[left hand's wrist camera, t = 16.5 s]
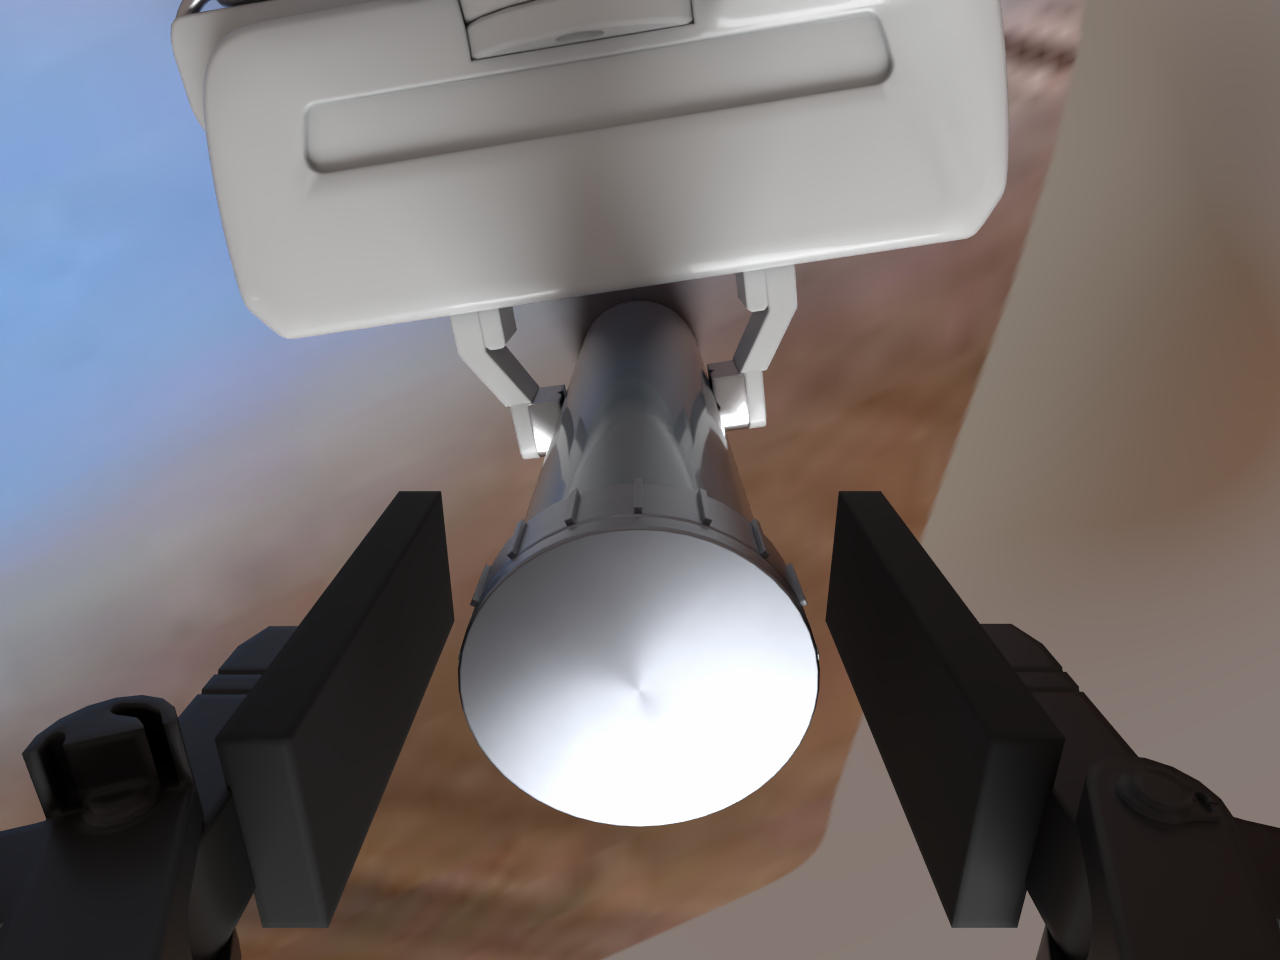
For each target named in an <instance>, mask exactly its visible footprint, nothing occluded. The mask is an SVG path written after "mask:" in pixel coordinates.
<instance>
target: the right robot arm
mask: <svg viewBox="0 0 1280 960" xmlns="http://www.w3.org/2000/svg"><path fill="white" fill-rule="evenodd" d="M209 1H210V0H182V2H181V4H180V6H179V9H178V11H177V15H176V18H175V20H174V21H173V23H172V25H171V43H172V48H173V54H174V57H175V60H176V63H177V66H178V69H179V72H180V75H181V78H182V81H183V84H184V87H185V90H186V94H187V97H188V100H189V103H190V106H191V108H192V111H193V113H194V115H195V117H196V119H197V120H198V122H199V124H200V125H201V126H202V128H203V129H204V131H205V132H206V138H207V145H208V152H209V158H210V164H211V170H212V176H213V182H214V188H215V193H216V198H217V203H218V208H219V213H220V217H221V222H222V227H223V231H224V235H225V239H226V244H227V248H228V252H229V256H230V260H231V263H232V267H233V271H234V275H235V278H236V282H237V285H238V288H239V291H240V294H241V297H242V299H243V301H244V303H245V305H246V307H247V308H248V310H249V311H250V312H251V313H253V314H254V315H255V316H256V317H257V318H259V319H260V320H261V321H262V322H263V323H265V324H266V325H267V326H268V327H269V328H271V329H272V330H273V331H274V332H276V333H277V334H278V335H280V336H281V337H284V338H287V339H295V338H303V337H310V336H316V335H323V334H330V333H336V332H343V331H350V330H357V329H363V328H370V327H377V326H383V325H390V324H397V323H404V322H410V321H417V320H424V319H430V318H437V317H444V316H449V317H450V321H451V325H452V330H453V334H454V338H455V342H456V346H457V351H458V355H459V357H460V358H461V359H462V360H463V361H464V362H465V363H466V364H467V365H468V366H469V367H470V368H471V370H472V371H473V372H474V373H475V374H476V375H477V376H478V377H479V378H480V379H481V380H482V381H483V383H484V384H485V385H486V386H487V387H488V388H489V389H490V390H491V391H492V392H493V393H494V395H495V396H496V397H497V398H498V399H499V400H500V401H501V402H502V403H503V404H504V405H505V406H506V407H509V406H510V408H511V413H512V417H513V422H514V426H515V431H516V435H517V440H518V445H519V449H520V453H521V455H522V457H523V459H531V458H540V457H543V456H546V453H547V450H548V447H549V444H550V441H551V438H552V435H553V432H554V429H555V426H556V422H557V419H558V416H559V413H560V410H561V407H562V404H563V401H564V398H565V395H566V388H565V385H558V386H549V387H541V388H539V386H538V385H537V383H536V382H535V381H534V380H533V378H532V377H531V376H530V375H529V374H528V372H527V371H526V370H525V369H524V367H523V366H522V365H521V364H520V363H519V361H518V360H517V359H516V358H515V357H514V355H513V354H512V353H511V352H510V350H509V349H508V348H507V347H506V346H505V345H506V343H507V342H508V341H509V339H510V338H511V337H512V335H513V334H514V333H515V331H516V330H517V328H516V323H515V318H514V313H513V308H512V306H518V305H524V304H531V303H538V302H544V301H551V300H558V299H565V298H571V297H578V296H585V295H591V294H598V293H605V292H612V291H618V290H625V289H632V288H638V287H645V286H652V285H659V284H665V283H672V282H679V281H685V280H692V279H699V278H706V277H712V276H719V275H726V274H732V273H736V282H737V290H738V297H739V299H740V300H741V301H742V303H743V304H744V305H745V307H746V308H747V309H748V310H750V311H751V312H752V315H751V317H750V319H749V322H748V324H747V326H746V329H745V331H744V333H743V336H742V338H741V340H740V343H739V345H738V347H737V350H736V352H735V354H734V357H733V360H730V361H724V362H718V363H712V364H707V369H708V378H709V382H710V385H711V388H712V391H713V395H714V398H715V401H716V404H717V407H718V410H719V413H720V416H721V419H722V422H723V425H724V428H725V431H734V430H741V429H749V428H756V427H763V426H766V407H765V396H764V385H763V373H762V371H763V370H767V368H768V366H769V364H770V362H771V360H772V358H773V356H774V354H775V352H776V350H777V348H778V345H779V343H780V341H781V339H782V337H783V335H784V333H785V331H786V329H787V327H788V325H789V323H790V321H791V319H792V317H793V315H794V313H795V311H796V308H797V293H796V277H795V264H800V263H806V262H813V261H820V260H826V259H833V258H840V257H847V256H853V255H860V254H867V253H873V252H880V251H887V250H894V249H900V248H907V247H914V246H920V245H927V244H934V243H940V242H947V241H953V240H960V239H966V238H969V237H971V236H973V235H974V234H976V233H977V231H978V230H979V229H980V228H981V226H982V225H983V224H984V223H985V221H986V220H987V218H988V217H989V215H990V214H991V212H992V211H993V209H994V208H995V206H996V205H997V203H998V202H999V200H1000V199H1001V197H1002V195H1003V193H1004V190H1005V187H1006V182H1007V173H1008V156H1009V107H1008V82H1007V66H1006V51H1005V40H1004V30H1003V20H1002V11H1001V2H1000V0H217V1H218V2H219V3H220V4H221V5H222V6H224V7H227V8H221V9H216V10H210V11H204V12H200V11H201V9H202V8H203V7H204V6H205V5H206V4H207V3H208V2H209Z"/></svg>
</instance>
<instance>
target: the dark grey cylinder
mask: <svg viewBox="0 0 1280 960" xmlns="http://www.w3.org/2000/svg"><path fill="white" fill-rule="evenodd" d="M635 478H642V483H648V484H662V485H668V486H673V487H679V488H684V489H687V490H690V491H694V492H697V493H698V491H699V489H700V488H701V489H704V490H706V492H707V496H708V497H710V498H712V499H715V500H717V501H719V502H721V503H723V504H725V505H727V506H728V507H730V508H732V509H733V510H735V511H736V512H738V513H740V514H741V515H743V516H744V517H745V518H746V519H748V520H749V521H750V522H751V521H752V520H753V519H754V518H753V515H752V512H751V508H750V505H749V502H748V499H747V496H746V493H745V490H744V487H743V484H742V481H741V478H740V475H739V471H738V468H737V465H736V462H735V459H734V456H733V453H732V450H731V447H730V444H729V441H728V438H727V435H726V431H725V428H724V425H723V422H722V419H721V416H720V413H719V410H718V407H717V404H716V401H715V398H714V395H713V391H712V388H711V385H710V382H709V379H708V376H707V373H706V370H705V367H704V364H703V361H702V358H701V355H700V351H699V348H698V345H697V342H696V340H695V337H694V334H693V333H692V331H691V329H690V327H689V326H688V325H687V323H686V322H685V321H684V320H683V319H682V318H681V317H680V316H679V315H678V314H677V313H676V312H674V311H673V310H671V309H669V308H668V307H666V306H664V305H661V304H658V303H655V302H651V301H629V302H625V303H621V304H618V305H616V306H614V307H612V308H610V309H608V310H607V311H605V312H604V313H603V314H601V315H600V316H599V317H598V318H597V319H596V320H595V321H594V323H593V324H592V325H591V327H590V328H589V330H588V332H587V334H586V336H585V338H584V341H583V344H582V347H581V350H580V353H579V356H578V359H577V362H576V365H575V368H574V371H573V374H572V377H571V380H570V383H569V386H568V389H567V392H566V395H565V398H564V401H563V404H562V407H561V410H560V413H559V416H558V419H557V422H556V426H555V429H554V432H553V435H552V438H551V441H550V444H549V447H548V450H547V453H546V456H545V459H544V462H543V465H542V468H541V471H540V474H539V477H538V480H537V483H536V486H535V489H534V492H533V495H532V498H531V501H530V504H529V507H528V510H527V513H526V516H525V519H524V521H525V522H526V523H527V522H528V521H529V520H530V519H531V518H533V517H534V516H535V515H537V514H538V513H540V512H542V511H543V510H545V509H546V508H548V507H549V506H551V505H553V504H555V503H557V502H559V501H561V500H563V499H566V498H568V497H569V496H570V491H571V490H574V489H578V491H579V493H581V492H584V491H587V490H591V489H594V488H599V487H605V486H610V485H615V484H630V483H635Z"/></svg>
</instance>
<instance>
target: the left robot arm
mask: <svg viewBox="0 0 1280 960" xmlns="http://www.w3.org/2000/svg"><path fill="white" fill-rule="evenodd" d="M453 623H454V611H453V602H452V592H451V583H450V573H449V563H448V554H447V544H446V535H445V525H444V516H443V506H442V496H441V491H399V492H398V494H397V495H396V496H395V498H394V499H393V500H392V502H391V503H390V504H389V506H388V507H387V508H386V510H385V511H384V512H383V514H382V515H381V516H380V518H379V519H378V520H377V522H376V523H375V524H374V526H373V527H372V528H371V530H370V531H369V532H368V534H367V535H366V536H365V538H364V539H363V540H362V542H361V543H360V544H359V546H358V547H357V549H356V550H355V551H354V553H353V554H352V555H351V557H350V558H349V559H348V561H347V562H346V563H345V565H344V566H343V567H342V569H341V570H340V571H339V573H338V574H337V575H336V577H335V578H334V579H333V581H332V582H331V583H330V585H329V586H328V587H327V589H326V590H325V591H324V593H323V594H322V595H321V597H320V598H319V599H318V601H317V602H316V603H315V605H314V606H313V607H312V609H311V610H310V611H309V613H308V614H307V615H306V617H305V618H304V619H303V621H302V622H301V623H300V625H299V626H269V627H267V628H266V629H264V630H263V631H261V632H260V633H258V634H256V635H255V636H253V637H252V638H250V639H249V640H247V641H246V642H244V643H243V644H241V645H240V646H238V647H237V648H236V649H235V651H234V652H233V653H232V654H231V655H230V657H229V658H228V659H227V660H226V661H225V663H224V664H223V665H222V666H221V667H220V668H219V670H218V675H214V676H213V677H212V678H211V679H210V680H209V682H208V683H207V684H206V685H205V686H204V687H203V689H202V694H198V695H197V696H196V697H195V698H194V699H193V701H192V702H191V703H190V704H189V705H188V706H187V708H186V709H185V710H184V711H183V712H182V714H181V715H180V716H179V717H177V714H176V710H175V707H174V706H172V705H171V704H170V703H168V702H167V701H166V700H164V699H163V698H157V697H151V696H145V695H139V696H129V697H119V698H114V699H110V700H107V701H103V702H100V703H96V704H93V705H89V706H86V707H84V708H82V709H80V710H78V711H76V712H74V713H72V714H70V715H67V716H65V717H63V718H61V719H59V720H58V721H56V722H55V723H54V724H52V725H51V726H49V727H48V728H47V729H45V730H44V731H42V732H41V733H40V734H38V735H37V736H36V737H35V738H34V739H33V741H32V742H31V743H30V744H29V746H28V747H27V748H26V749H25V750H24V752H23V753H22V755H23V758H24V761H25V763H26V766H27V769H28V771H29V774H30V777H31V779H32V782H33V785H34V787H35V790H36V793H37V795H38V798H39V801H40V803H41V806H42V808H43V811H44V814H45V816H46V821H42V822H39V823H35V824H31V825H27V826H22V827H18V828H13V829H9V830H5V831H0V960H241V951H240V945H239V939H238V935H237V932H236V928H235V926H236V925H237V923H238V921H239V919H240V917H241V915H242V913H243V911H244V910H245V908H246V906H247V904H248V902H249V900H250V898H251V897H252V895H253V893H254V895H255V899H256V903H257V907H258V911H259V915H260V919H261V923H262V927H263V928H328V927H329V924H330V922H331V919H332V917H333V915H334V912H335V910H336V907H337V905H338V902H339V900H340V898H341V895H342V893H343V890H344V888H345V885H346V883H347V881H348V878H349V876H350V873H351V871H352V868H353V866H354V863H355V861H356V859H357V856H358V854H359V851H360V849H361V846H362V844H363V842H364V839H365V837H366V834H367V832H368V829H369V827H370V825H371V822H372V820H373V817H374V815H375V812H376V810H377V808H378V805H379V803H380V800H381V798H382V795H383V793H384V791H385V788H386V786H387V783H388V781H389V778H390V776H391V774H392V771H393V769H394V766H395V764H396V761H397V759H398V757H399V754H400V752H401V749H402V747H403V744H404V742H405V739H406V737H407V735H408V732H409V730H410V727H411V725H412V722H413V720H414V718H415V715H416V713H417V710H418V708H419V705H420V703H421V701H422V698H423V696H424V693H425V691H426V688H427V686H428V684H429V681H430V679H431V676H432V674H433V671H434V669H435V667H436V664H437V662H438V659H439V657H440V654H441V652H442V650H443V647H444V645H445V642H446V640H447V637H448V635H449V633H450V630H451V628H452V625H453ZM826 623H827V625H828V628H829V630H830V633H831V635H832V637H833V640H834V642H835V645H836V647H837V650H838V652H839V654H840V657H841V659H842V662H843V664H844V667H845V669H846V671H847V674H848V676H849V679H850V681H851V684H852V686H853V688H854V691H855V693H856V696H857V698H858V701H859V703H860V705H861V708H862V710H863V713H864V715H865V718H866V720H867V722H868V725H869V727H870V730H871V732H872V735H873V737H874V739H875V742H876V744H877V747H878V749H879V752H880V754H881V757H882V759H883V761H884V764H885V766H886V769H887V771H888V773H889V776H890V778H891V781H892V783H893V786H894V788H895V791H896V793H897V795H898V798H899V800H900V803H901V805H902V808H903V810H904V812H905V815H906V817H907V820H908V822H909V825H910V827H911V829H912V832H913V834H914V837H915V839H916V842H917V844H918V846H919V849H920V851H921V854H922V856H923V859H924V861H925V863H926V866H927V868H928V871H929V873H930V876H931V878H932V881H933V883H934V885H935V888H936V890H937V893H938V895H939V897H940V900H941V902H942V905H943V907H944V910H945V912H946V915H947V917H948V919H949V922H950V924H951V927H952V928H1017V927H1018V923H1019V919H1020V915H1021V911H1022V907H1023V903H1024V899H1025V895H1026V892H1027V891H1028V893H1029V894H1030V896H1031V898H1032V900H1033V902H1034V904H1035V906H1036V907H1037V909H1038V911H1039V913H1040V915H1041V917H1042V919H1043V920H1044V922H1045V924H1046V925H1045V928H1044V932H1043V936H1042V939H1041V943H1040V947H1039V950H1038V954H1037V957H1036V960H1280V828H1277V827H1273V826H1268V825H1264V824H1259V823H1255V822H1250V821H1246V820H1242V819H1239V818H1235V817H1233V816H1232V814H1231V813H1230V811H1229V810H1228V809H1227V807H1226V806H1225V804H1224V803H1223V801H1222V800H1221V799H1220V798H1219V797H1218V796H1217V795H1215V794H1214V793H1213V792H1212V791H1211V790H1209V789H1208V788H1207V787H1206V786H1205V785H1203V784H1202V783H1201V782H1200V781H1198V780H1196V779H1194V778H1192V777H1191V776H1189V775H1187V774H1185V773H1183V772H1181V771H1179V770H1177V769H1176V768H1174V767H1171V766H1168V765H1165V764H1162V763H1159V762H1156V761H1153V760H1150V759H1147V758H1140V757H1138V756H1137V755H1136V754H1135V752H1134V751H1133V750H1132V749H1131V748H1130V747H1129V745H1128V744H1127V743H1126V742H1125V741H1124V739H1123V738H1122V737H1121V736H1120V735H1119V734H1118V732H1117V731H1116V730H1115V729H1114V728H1113V726H1112V725H1111V724H1110V723H1109V722H1108V721H1107V719H1106V718H1105V717H1104V716H1103V715H1102V714H1101V712H1100V711H1099V710H1098V709H1097V708H1096V706H1095V705H1094V704H1093V703H1092V702H1091V701H1090V699H1089V698H1088V697H1087V696H1086V695H1085V693H1084V692H1079V686H1078V685H1077V684H1076V683H1075V682H1074V681H1073V679H1072V678H1071V677H1070V676H1069V675H1068V674H1067V672H1063V671H1062V666H1061V665H1060V664H1059V663H1058V662H1057V660H1056V659H1055V658H1054V657H1053V656H1052V655H1051V653H1050V652H1049V651H1048V650H1047V649H1046V647H1045V646H1044V645H1043V644H1042V643H1040V642H1039V641H1037V640H1035V639H1034V638H1032V637H1031V636H1029V635H1028V634H1026V633H1025V632H1023V631H1022V630H1020V629H1019V628H1017V627H1015V626H1014V625H1012V624H980V623H979V622H978V621H977V619H976V618H975V617H974V615H973V614H972V613H971V611H970V610H969V609H968V607H967V606H966V605H965V603H964V602H963V601H962V599H961V598H960V597H959V595H958V594H957V593H956V591H955V590H954V589H953V587H952V586H951V585H950V583H949V582H948V581H947V579H946V578H945V577H944V575H943V574H942V573H941V571H940V570H939V569H938V567H937V566H936V565H935V563H934V562H933V561H932V559H931V558H930V557H929V555H928V554H927V553H926V551H925V550H924V549H923V547H922V546H921V544H920V543H919V542H918V540H917V539H916V538H915V536H914V535H913V534H912V532H911V531H910V530H909V528H908V527H907V526H906V524H905V523H904V522H903V520H902V519H901V518H900V516H899V515H898V514H897V512H896V511H895V510H894V508H893V507H892V506H891V504H890V503H889V502H888V500H887V499H886V498H885V496H884V495H883V494H882V492H881V491H839V496H838V506H837V516H836V525H835V535H834V544H833V554H832V563H831V573H830V583H829V592H828V602H827V611H826Z"/></svg>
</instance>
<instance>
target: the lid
mask: <svg viewBox="0 0 1280 960" xmlns="http://www.w3.org/2000/svg"><path fill="white" fill-rule="evenodd" d="M806 604H807V601H806V599H805V596H804V594H803V591H802V588H801V586H800V583H799V581H798V578H797V575H796V573H795V570H794V568H793V566H792V564H789V565H786V564H785V562H784V560H783V559H782V557H781V556H780V554H779V553H778V551H777V550H776V548H775V547H774V545H773V544H772V543H771V542H770V540H769V539H768V538H767V537H766V536H765V535H764V534H763V531H762V528H761V525H760V523H759V522H758V521H757V520H756V519H753V520H752V521H751V522H750V521H749V520H748V519H746V518H745V517H744V516H743V515H741V514H740V513H738V512H736V511H735V510H733V509H732V508H730V507H728V506H727V505H725V504H723V503H721V502H719V501H717V500H715V499H712V498H710V497H708V496H707V492H706V490H704V489H701V488H700V489H699V491H698V493H697V492H694V491H690V490H687V489H684V488H679V487H673V486H668V485H662V484H648V483H642V478H635V483H630V484H615V485H610V486H605V487H599V488H594V489H591V490H587V491H584V492H581V493H579V491H578V489H574V490H571V491H570V496H569V497H568V498H566V499H563V500H561V501H559V502H557V503H555V504H553V505H551V506H549V507H548V508H546V509H545V510H543V511H542V512H540V513H538V514H537V515H535V516H534V517H533V518H531V519H530V520H529V521H528V522H527V523H526V522H525V521H524V520H523V519H522V520H521V521H520V522H518V524H517V527H516V530H515V532H514V535H513V536H512V537H511V538H510V539H509V541H508V542H507V543H506V544H505V545H504V547H503V548H502V550H501V551H500V553H499V554H498V556H497V557H496V559H495V560H494V562H493V564H492V566H489V565H487V564H486V566H485V568H484V570H483V573H482V575H481V578H480V580H479V583H478V586H477V588H476V591H475V593H474V596H473V598H472V601H471V603H470V605H471V606H474V607H475V609H474V611H473V614H472V617H471V619H470V622H469V624H468V627H467V630H466V633H465V636H464V640H463V643H462V647H461V650H460V653H459V666H458V682H459V693H460V698H461V704H462V709H463V712H464V714H465V717H466V720H467V723H468V726H469V728H470V730H471V732H472V734H473V736H474V738H475V740H476V742H477V744H478V745H479V747H480V748H481V750H482V751H483V752H484V754H485V755H486V757H487V758H488V759H489V761H490V762H491V763H492V764H493V765H494V766H495V767H496V768H497V769H498V770H499V772H500V773H501V774H502V775H503V776H504V777H505V778H507V779H508V780H509V781H510V782H512V783H513V784H514V785H515V786H516V787H518V788H519V789H520V790H522V791H523V792H525V793H526V794H528V795H529V796H531V797H533V798H534V799H536V800H537V801H539V802H541V803H543V804H545V805H547V806H549V807H551V808H553V809H555V810H558V811H561V812H563V813H566V814H569V815H571V816H574V817H577V818H581V819H585V820H589V821H593V822H597V823H604V824H611V825H617V826H637V827H642V826H661V825H668V824H674V823H681V822H685V821H689V820H693V819H697V818H701V817H704V816H707V815H709V814H712V813H715V812H717V811H720V810H723V809H725V808H727V807H729V806H731V805H733V804H735V803H737V802H739V801H741V800H743V799H744V798H746V797H747V796H749V795H750V794H752V793H753V792H755V791H756V790H758V789H759V788H761V787H762V786H763V785H764V784H765V783H766V782H768V781H769V780H770V779H771V778H772V777H774V776H775V775H776V774H777V773H778V772H779V770H780V769H781V768H782V767H783V766H784V765H785V764H786V763H787V762H788V761H789V759H790V758H791V757H792V755H793V754H794V752H795V751H796V750H797V748H798V747H799V745H800V744H801V742H802V740H803V738H804V736H805V734H806V732H807V730H808V728H809V726H810V723H811V720H812V717H813V714H814V711H815V708H816V703H817V698H818V692H819V676H820V667H819V652H818V649H817V646H816V644H815V641H814V637H813V634H812V631H811V628H810V625H809V622H808V620H807V617H806V614H805V612H804V609H803V606H804V605H806Z"/></svg>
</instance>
